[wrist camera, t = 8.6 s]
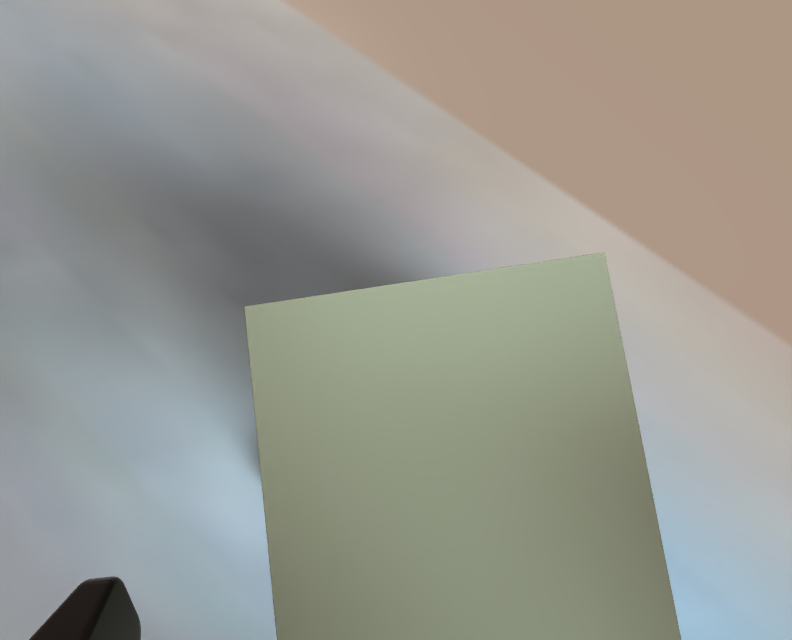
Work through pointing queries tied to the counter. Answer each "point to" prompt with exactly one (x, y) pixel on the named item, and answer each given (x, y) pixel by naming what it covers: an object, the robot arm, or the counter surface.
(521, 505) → the sage block
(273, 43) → the counter surface
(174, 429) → the counter surface
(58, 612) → the robot arm
